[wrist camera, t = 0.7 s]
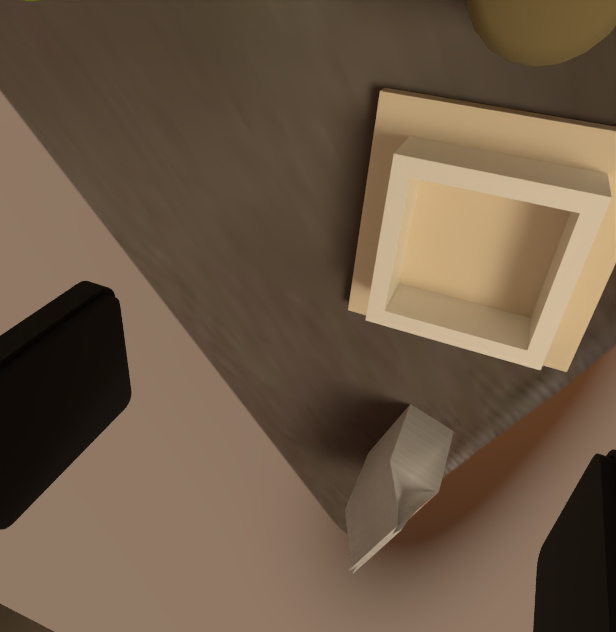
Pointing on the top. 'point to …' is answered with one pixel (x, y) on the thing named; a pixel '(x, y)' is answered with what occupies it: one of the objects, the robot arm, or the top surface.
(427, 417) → the white carton
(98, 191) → the top surface
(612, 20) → the cork
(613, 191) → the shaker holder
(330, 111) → the top surface
